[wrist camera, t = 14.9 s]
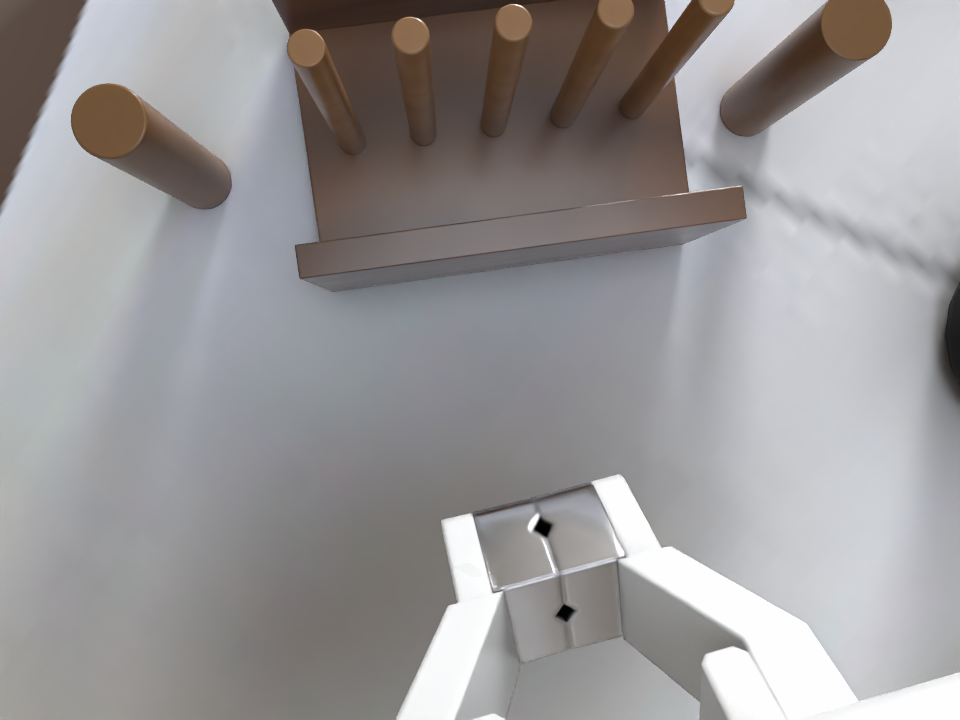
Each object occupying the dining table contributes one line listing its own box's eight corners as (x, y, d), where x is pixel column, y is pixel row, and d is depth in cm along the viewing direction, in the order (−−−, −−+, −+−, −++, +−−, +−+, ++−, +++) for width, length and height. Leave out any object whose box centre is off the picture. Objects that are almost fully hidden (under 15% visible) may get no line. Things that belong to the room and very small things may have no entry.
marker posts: (775, 132, 33) (896, 55, 24) (181, 212, 32) (76, 163, 23) (768, 79, 33) (887, -18, 24) (172, 158, 32) (64, 87, 23)
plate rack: (684, 244, 33) (809, 193, 22) (332, 291, 32) (266, 266, 21) (650, -24, 33) (758, -221, 21) (292, 20, 32) (204, -158, 21)
